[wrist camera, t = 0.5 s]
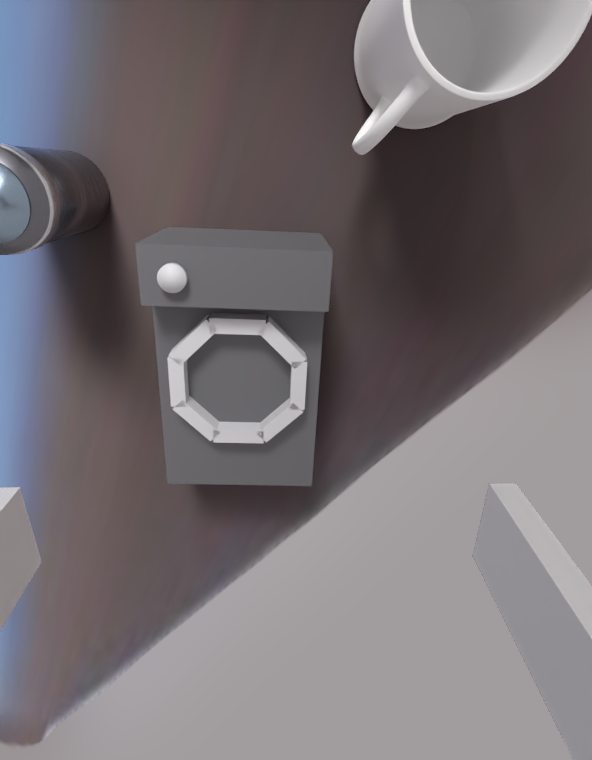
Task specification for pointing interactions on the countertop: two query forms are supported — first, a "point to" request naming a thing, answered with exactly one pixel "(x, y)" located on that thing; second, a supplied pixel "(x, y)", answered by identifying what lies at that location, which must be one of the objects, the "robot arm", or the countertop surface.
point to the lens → (47, 196)
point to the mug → (455, 56)
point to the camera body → (237, 350)
